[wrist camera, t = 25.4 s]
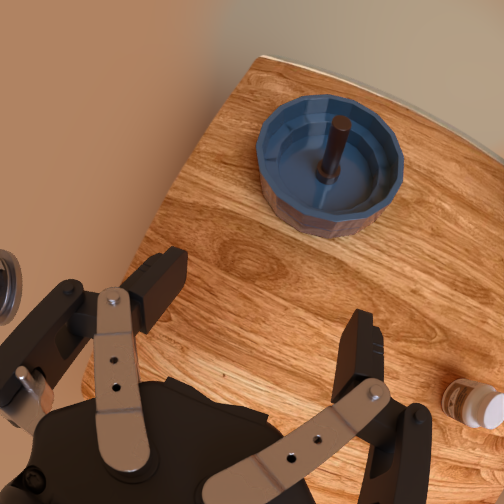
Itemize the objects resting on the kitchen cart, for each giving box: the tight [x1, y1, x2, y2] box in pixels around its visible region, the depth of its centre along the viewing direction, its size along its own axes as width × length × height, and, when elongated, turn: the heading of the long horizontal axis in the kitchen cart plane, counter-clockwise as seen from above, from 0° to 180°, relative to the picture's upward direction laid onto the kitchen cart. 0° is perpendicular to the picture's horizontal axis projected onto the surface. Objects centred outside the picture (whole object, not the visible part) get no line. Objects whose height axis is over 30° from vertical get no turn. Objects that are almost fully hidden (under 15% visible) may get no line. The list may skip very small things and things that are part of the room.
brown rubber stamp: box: [316, 115, 352, 185], centre depth 25 cm, size 2×2×9 cm
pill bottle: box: [442, 379, 504, 429], centre depth 20 cm, size 4×4×8 cm
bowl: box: [256, 94, 404, 238], centre depth 28 cm, size 14×14×6 cm
